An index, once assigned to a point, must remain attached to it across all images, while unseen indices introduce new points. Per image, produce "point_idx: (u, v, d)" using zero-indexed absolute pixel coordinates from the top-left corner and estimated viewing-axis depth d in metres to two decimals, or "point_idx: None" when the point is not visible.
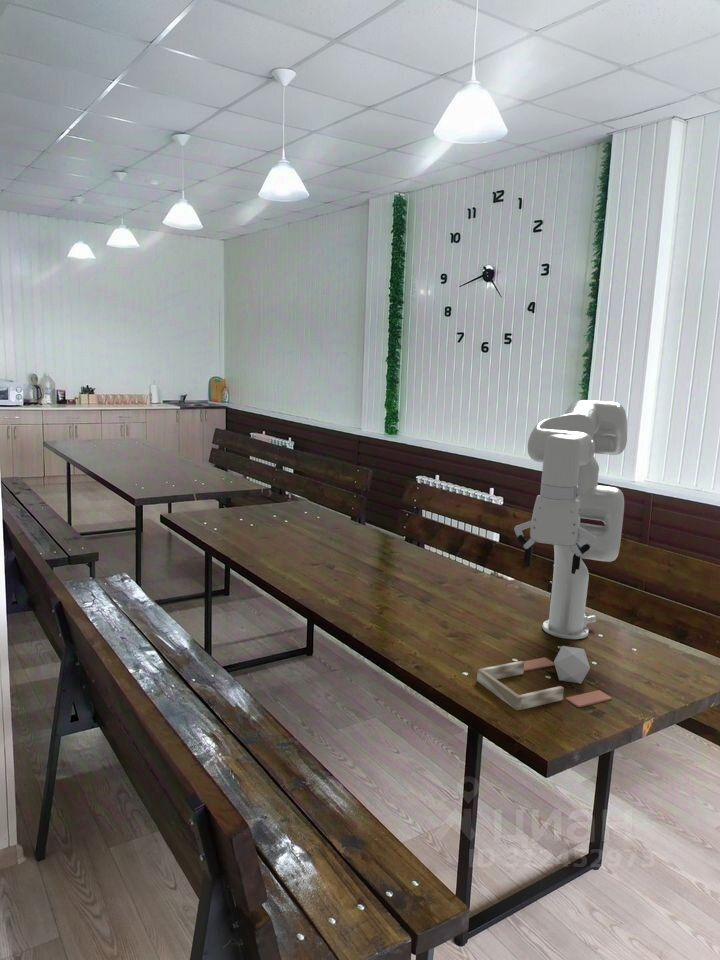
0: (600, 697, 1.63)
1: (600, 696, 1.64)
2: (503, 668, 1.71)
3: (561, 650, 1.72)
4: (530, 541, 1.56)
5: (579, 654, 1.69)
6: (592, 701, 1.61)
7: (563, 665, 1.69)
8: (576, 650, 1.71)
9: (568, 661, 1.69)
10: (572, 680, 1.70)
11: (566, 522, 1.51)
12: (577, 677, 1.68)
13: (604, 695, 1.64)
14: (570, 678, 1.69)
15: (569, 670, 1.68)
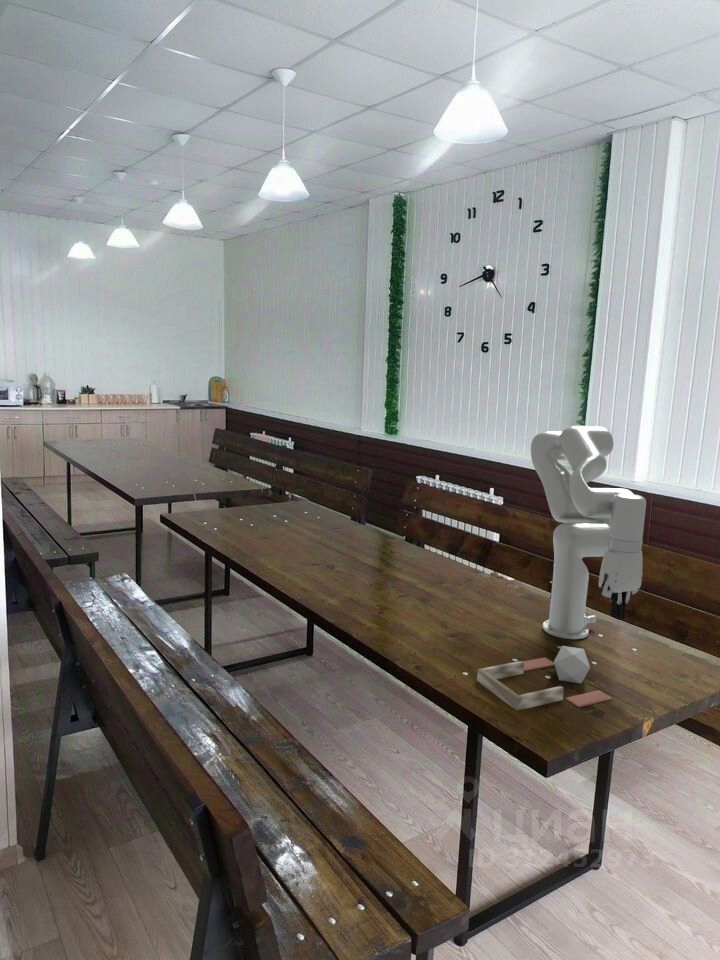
0: (600, 697, 1.63)
1: (600, 696, 1.64)
2: (503, 668, 1.71)
3: (561, 650, 1.72)
4: (619, 596, 1.72)
5: (579, 654, 1.69)
6: (592, 701, 1.61)
7: (563, 665, 1.69)
8: (576, 650, 1.71)
9: (568, 661, 1.69)
10: (572, 680, 1.70)
11: (637, 570, 1.72)
12: (577, 677, 1.68)
13: (604, 695, 1.64)
14: (570, 678, 1.69)
15: (569, 670, 1.68)
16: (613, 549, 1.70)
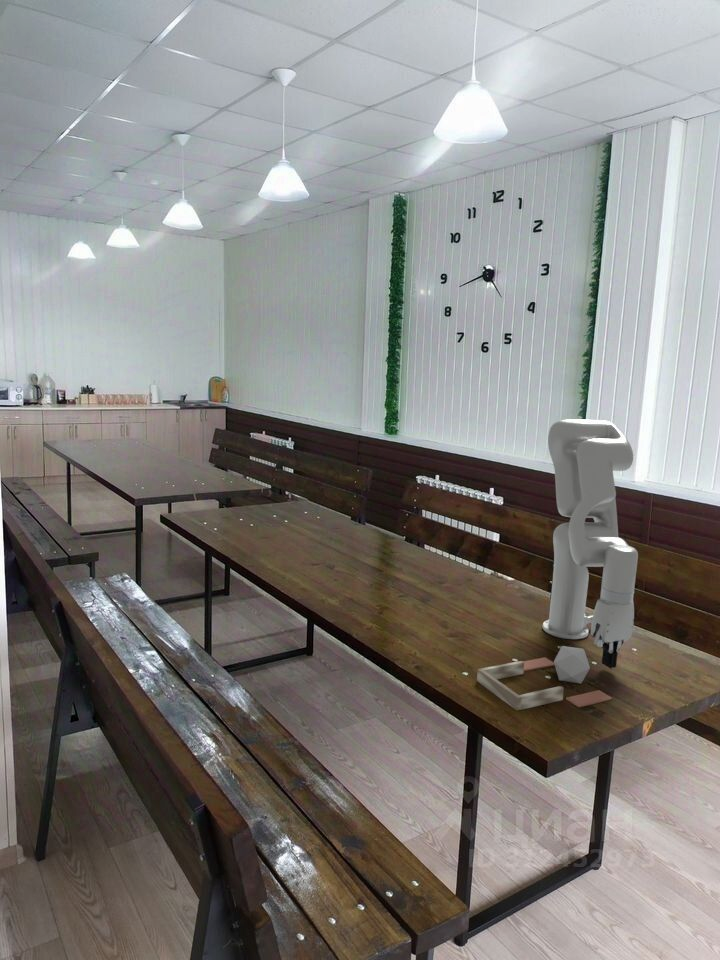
0: (600, 697, 1.63)
1: (600, 696, 1.64)
2: (503, 668, 1.71)
3: (561, 650, 1.72)
4: (610, 645, 1.74)
5: (579, 654, 1.69)
6: (592, 701, 1.61)
7: (563, 665, 1.69)
8: (576, 650, 1.71)
9: (568, 661, 1.69)
10: (572, 680, 1.70)
11: (629, 620, 1.74)
12: (577, 677, 1.68)
13: (604, 695, 1.64)
14: (570, 678, 1.69)
15: (569, 670, 1.68)
16: (605, 600, 1.72)
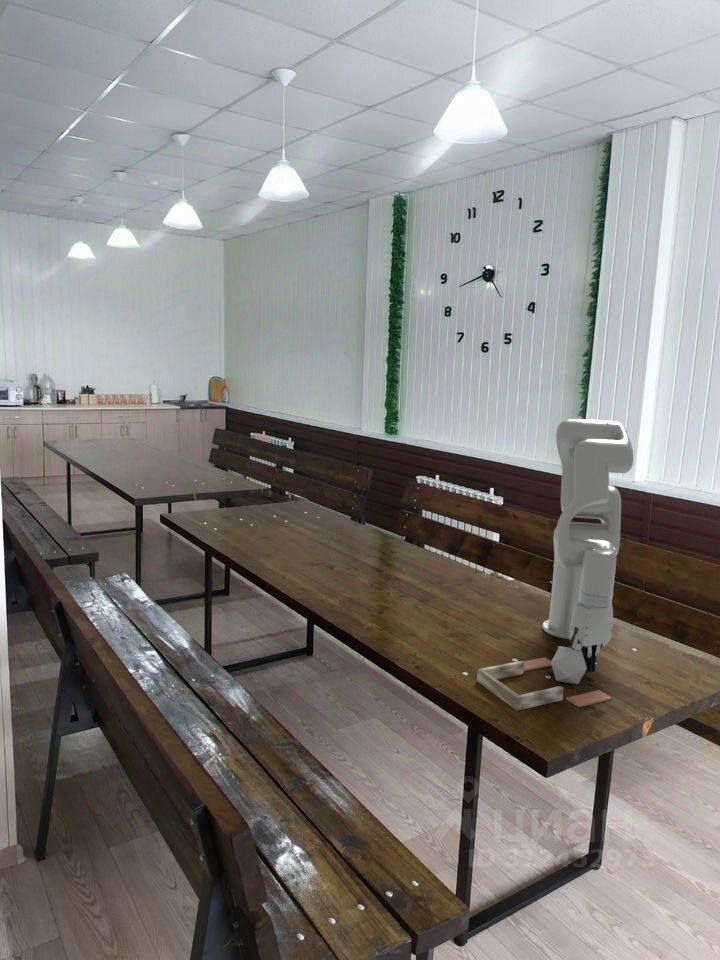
0: (600, 697, 1.63)
1: (600, 696, 1.64)
2: (503, 668, 1.71)
3: (558, 650, 1.72)
4: (589, 650, 1.71)
5: (576, 654, 1.69)
6: (592, 701, 1.61)
7: (559, 665, 1.69)
8: (573, 650, 1.70)
9: (564, 662, 1.68)
10: (569, 680, 1.69)
11: (607, 623, 1.71)
12: (573, 677, 1.68)
13: (604, 695, 1.64)
14: (566, 679, 1.69)
15: (565, 671, 1.67)
16: (583, 603, 1.69)
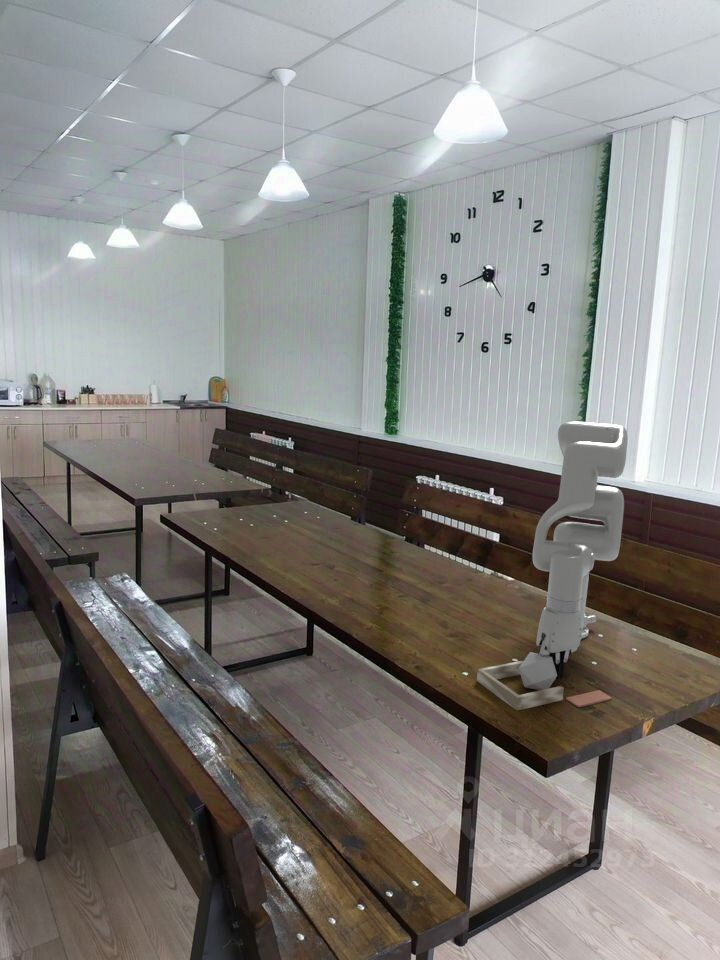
0: (600, 697, 1.63)
1: (600, 696, 1.64)
2: (503, 668, 1.71)
3: (528, 656, 1.67)
4: (557, 656, 1.67)
5: (544, 661, 1.64)
6: (592, 701, 1.61)
7: (526, 671, 1.65)
8: (542, 657, 1.66)
9: (531, 668, 1.64)
10: (536, 688, 1.65)
11: (576, 629, 1.67)
12: (540, 685, 1.64)
13: (604, 695, 1.64)
14: (533, 686, 1.64)
15: (531, 677, 1.63)
16: (551, 608, 1.65)
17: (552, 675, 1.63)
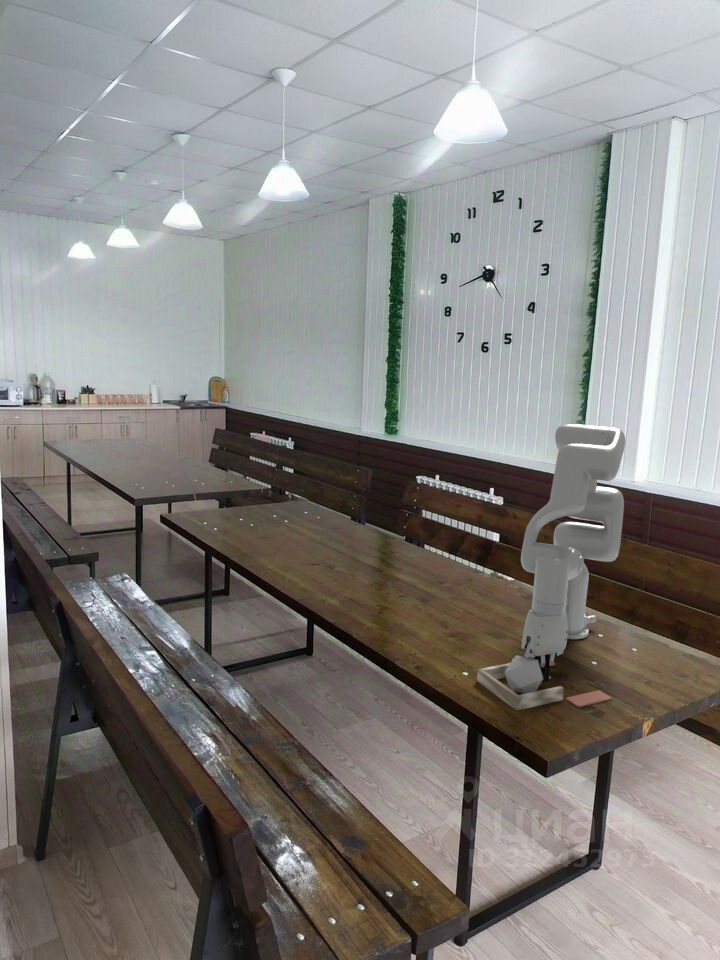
0: (600, 697, 1.63)
1: (600, 696, 1.64)
2: (503, 668, 1.71)
3: (513, 660, 1.65)
4: (542, 659, 1.65)
5: (530, 665, 1.62)
6: (592, 701, 1.61)
7: (512, 675, 1.62)
8: (528, 660, 1.64)
9: (517, 672, 1.62)
10: (522, 691, 1.63)
11: (561, 632, 1.65)
12: (526, 688, 1.61)
13: (604, 695, 1.64)
14: (519, 690, 1.62)
15: (518, 681, 1.61)
16: (536, 611, 1.63)
17: (539, 678, 1.61)
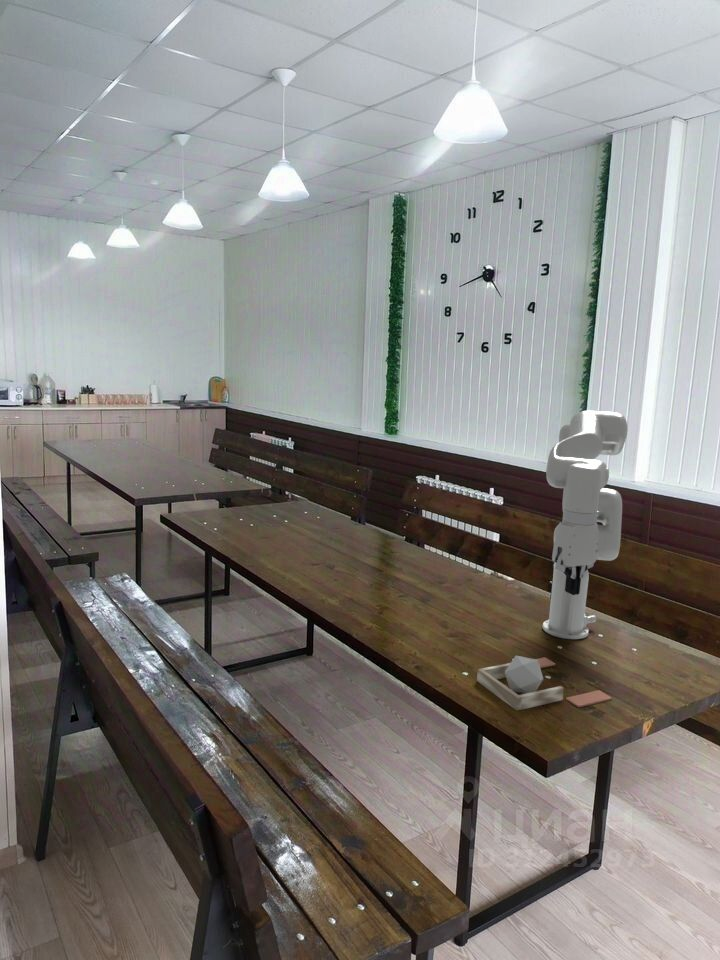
0: (600, 697, 1.63)
1: (600, 696, 1.64)
2: (503, 668, 1.71)
3: (513, 660, 1.65)
4: (573, 571, 1.65)
5: (530, 665, 1.62)
6: (592, 701, 1.61)
7: (512, 675, 1.62)
8: (528, 660, 1.64)
9: (517, 672, 1.62)
10: (522, 692, 1.63)
11: (592, 543, 1.65)
12: (526, 688, 1.61)
13: (604, 695, 1.64)
14: (519, 690, 1.62)
15: (518, 681, 1.61)
16: (567, 521, 1.63)
17: (539, 679, 1.61)
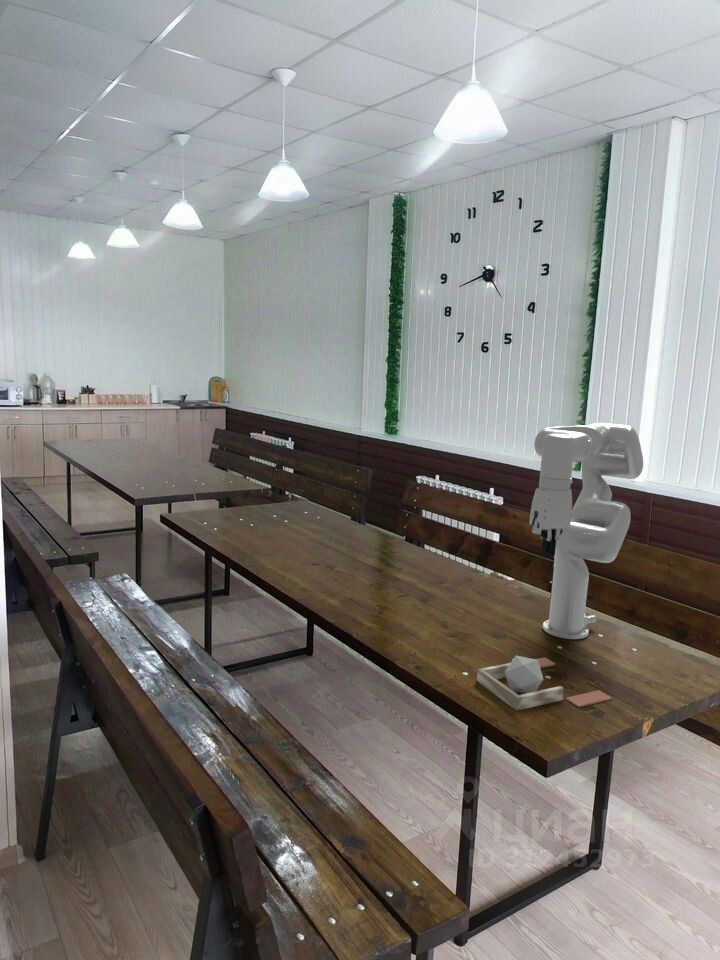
0: (600, 697, 1.63)
1: (600, 696, 1.64)
2: (503, 668, 1.71)
3: (513, 660, 1.65)
4: (548, 533, 1.78)
5: (530, 665, 1.62)
6: (592, 701, 1.61)
7: (512, 675, 1.62)
8: (528, 660, 1.64)
9: (517, 672, 1.62)
10: (522, 692, 1.63)
11: (566, 508, 1.77)
12: (526, 689, 1.61)
13: (604, 695, 1.64)
14: (519, 690, 1.62)
15: (518, 681, 1.61)
16: (543, 487, 1.76)
17: (539, 679, 1.61)
